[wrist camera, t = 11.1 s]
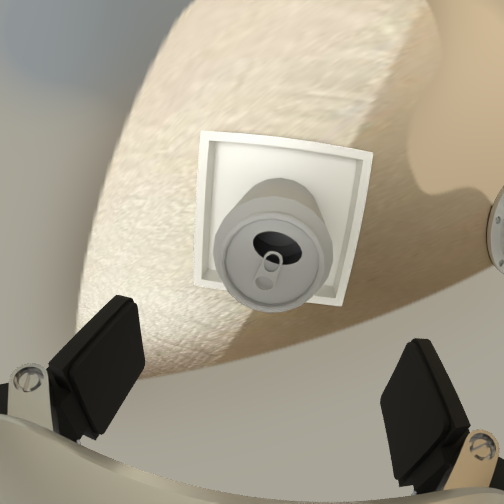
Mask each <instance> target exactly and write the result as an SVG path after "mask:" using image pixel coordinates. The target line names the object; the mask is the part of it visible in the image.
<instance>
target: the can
mask: <svg viewBox="0 0 504 504" xmlns="http://www.w3.org/2000/svg"><path fill="white" fill-rule="evenodd" d="M213 257H214V262H215V267H216V271H217V273H218V275H219V276H220V279H221V280H222V282H223V284H224V286H225V288H226V289H227V291H228V292H229V293H230V294H231V295H232V296H233V297H234V298H235V299H236V300H237V301H238V302H240V303H242V304H244V305H245V306H247V307H249V308H251V309H253V310H258V311H263V312H267V313H273V312H285V311H288V310H291V309H294V308H297V307H299V306H301V305H302V304H303V303H305V302H306V301H308V300H309V299H310V298H312V297H313V295H314V294H316V293H317V292H318V291H319V290H320V288H321V287H322V285H323V284H324V283H325V281H326V280H327V278H328V277H329V273H330V270H331V267H332V263H333V244H332V240H331V237H330V235H329V232H328V230H327V227H326V225H325V222H324V220H323V217H322V215H321V212H320V210H319V208H318V205H317V203H316V201H315V198H314V196H313V195H312V194H311V193H310V192H309V191H308V190H307V189H306V188H305V187H304V186H302V185H301V184H299V183H297V182H295V181H294V180H289V179H284V178H274V179H267V180H265V181H262V182H260V183H258V184H256V185H255V186H254V187H252V188H251V189H250V190H249V191H248V192H247V193H246V194H245V195H244V196H243V198H242V199H241V200H240V201H239V202H238V203H237V204H236V205H235V207H234V208H233V209H232V210H231V211H230V212H229V213H228V215H227V216H226V217H225V218H224V219H223V221H222V223H221V225H220V227H219V229H218V231H217V233H216V235H215V239H214V247H213Z"/></svg>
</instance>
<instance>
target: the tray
mask: <svg viewBox="0 0 504 504" xmlns="http://www.w3.org/2000/svg"><path fill="white" fill-rule="evenodd" d="M372 158H373V152H368V151H363V150H358V149H353V148H348V147H342V146H337V145H331V144H325V143H318V142H312V141H305V140H298V139H290V138H282V137H274V136H264V135H254V134H243V133H230V132H213V131H201V134H200V146H199V160H198V175H197V191H196V211H195V236H194V277H193V285H194V286H200V287H206V288H212V289H219V290H225V291H227V289H226V288H225V286H224V284H223V282H222V280H221V279H220V276H219V275H218V273H217V271H216V267H215V262H214V257H213V247H214V239H215V235H216V233H217V231H218V229H219V227H220V225H221V223H222V221H223V219H224V218H225V217H226V216H227V215H228V213H229V212H230V211H231V210H232V209H233V208H234V207H235V205H236V204H237V203H238V202H239V201H240V200H241V199H242V198H243V196H244V195H245V194H246V193H247V192H248V191H249V190H250V189H251V188H252V187H254V186H255V185H256V184H258V183H260V182H262V181H265V180H267V179H274V178H284V179H289V180H294V181H295V182H297V183H299V184H301V185H302V186H304V187H305V188H306V189H307V190H308V191H309V192H310V193H311V194H312V195H313V196H314V198H315V201H316V203H317V205H318V208H319V210H320V212H321V215H322V217H323V220H324V222H325V225H326V227H327V230H328V232H329V235H330V237H331V240H332V244H333V263H332V267H331V270H330V273H329V277H328V278H327V280H326V281H325V283H324V284H323V285H322V287H321V288H320V290H319V291H318V292H317V293H316V294H314V295H313V297H312V298H310V299H309V300H308V301H306V302H309V303H317V304H325V305H334V306H342V303H343V300H344V296H345V292H346V288H347V284H348V281H349V276H350V272H351V268H352V264H353V260H354V255H355V251H356V247H357V242H358V237H359V233H360V228H361V223H362V218H363V213H364V207H365V202H366V196H367V190H368V184H369V178H370V172H371V165H372Z"/></svg>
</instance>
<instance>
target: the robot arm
mask: <svg viewBox="0 0 504 504" xmlns="http://www.w3.org/2000/svg"><path fill="white" fill-rule="evenodd" d="M487 244H488V251H489V255H490V258H491V260H492V263H493V264H494V266H495V267H496V268H497V269H498V270H499V271H500V272H501V273H503V274H504V187H503V188H502V189H501V190H500V192H499V194H498V195H497V197H496V199H495V201H494V204H493V207H492V209H491V213H490V217H489V222H488V228H487ZM144 366H145V356H144V350H143V344H142V337H141V330H140V322H139V314H138V307H137V304H136V303H134V301H133V299H132V298H129V297H125V296H121V295H116V296H114V297H113V298H112V299H111V300H110V301H109V302H108V303H107V304H106V305H105V306H104V307H103V308H102V309H101V310H100V311H99V312H98V313H97V314H96V315H95V316H94V317H93V318H92V319H91V320H90V321H89V322H88V323H87V324H86V325H85V326H84V327H83V328H82V329H81V330H80V331H79V332H78V333H77V334H76V335H75V336H74V337H73V338H72V339H71V340H70V341H69V342H68V343H67V344H66V345H65V346H64V347H63V348H62V349H61V350H60V351H59V353H57V354H56V355H55V357H54V358H53V359H52V360H51V361H50V362H49V367H48V368H47V369H45V368H44V367H42V366H41V365H39V364H35V363H28V364H24V365H22V366H20V367H18V368H17V369H15V370H14V371H13V373H12V374H11V376H10V379H9V383H6V384H0V504H504V459H502V458H500V457H498V456H499V444H498V442H497V440H496V438H495V437H494V436H493V435H492V434H491V433H489V432H488V431H485V430H479V429H477V430H474V431H472V432H471V433H470V432H469V429H468V428H469V427H470V426H471V425H470V423H469V420H468V418H467V416H466V413H465V411H464V409H463V406H462V404H461V402H460V400H459V398H458V395H457V393H456V391H455V389H454V387H453V385H452V382H451V380H450V378H449V376H448V374H447V373H446V370H445V368H444V366H443V364H442V362H441V360H440V358H439V356H438V354H437V353H436V351H435V349H434V347H433V345H432V343H431V341H430V340H428V339H417V338H415V339H413V340H412V341H411V342H409V343H407V345H406V347H405V349H404V351H403V353H402V355H401V358H400V360H399V362H398V364H397V366H396V368H395V370H394V372H393V374H392V376H391V378H390V380H389V382H388V384H387V386H386V388H385V390H384V392H383V394H382V396H381V401H380V404H381V409H382V414H383V418H384V423H385V428H386V433H387V438H388V443H389V449H390V454H391V460H392V466H393V473H394V477H395V479H396V480H398V481H399V487H402V486H409V485H413V486H414V491H413V493H412V495H411V496H405V497H398V498H389V499H380V500H370V501H353V502H302V501H286V500H285V501H284V500H275V499H265V498H257V497H249V496H243V495H236V494H231V493H225V492H220V491H215V490H210V489H206V488H201V487H197V486H193V485H189V484H185V483H181V482H177V481H174V480H171V479H167V478H163V477H161V476H158V475H154V474H151V473H148V472H145V471H143V470H140V469H137V468H134V467H131V466H129V465H126V464H124V463H121V462H119V461H116V460H114V459H111V458H109V457H106V456H104V455H102V454H99V453H97V452H95V451H93V450H90V449H88V448H86V447H84V446H82V445H81V443H80V438H81V437H82V435H85V436H87V437H89V438H91V439H94V440H96V438H97V437H98V436H99V434H101V435H102V434H104V433H105V431H106V429H107V428H108V426H109V424H110V423H111V421H112V419H113V418H114V416H115V414H116V413H117V411H118V409H119V408H120V406H121V405H122V403H123V401H124V400H125V398H126V396H127V395H128V393H129V392H130V390H131V388H132V387H133V385H134V383H135V382H136V380H137V379H138V377H139V375H140V374H141V372H142V371H143V369H144Z"/></svg>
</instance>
